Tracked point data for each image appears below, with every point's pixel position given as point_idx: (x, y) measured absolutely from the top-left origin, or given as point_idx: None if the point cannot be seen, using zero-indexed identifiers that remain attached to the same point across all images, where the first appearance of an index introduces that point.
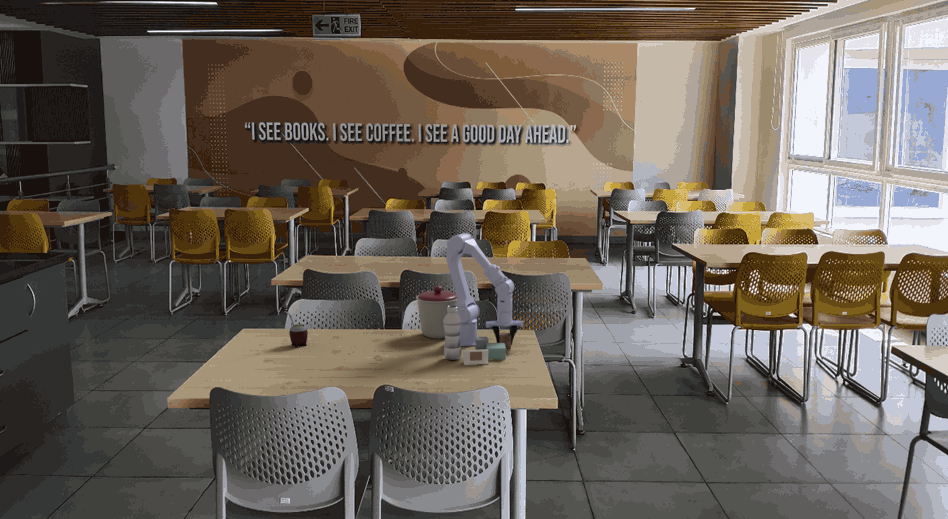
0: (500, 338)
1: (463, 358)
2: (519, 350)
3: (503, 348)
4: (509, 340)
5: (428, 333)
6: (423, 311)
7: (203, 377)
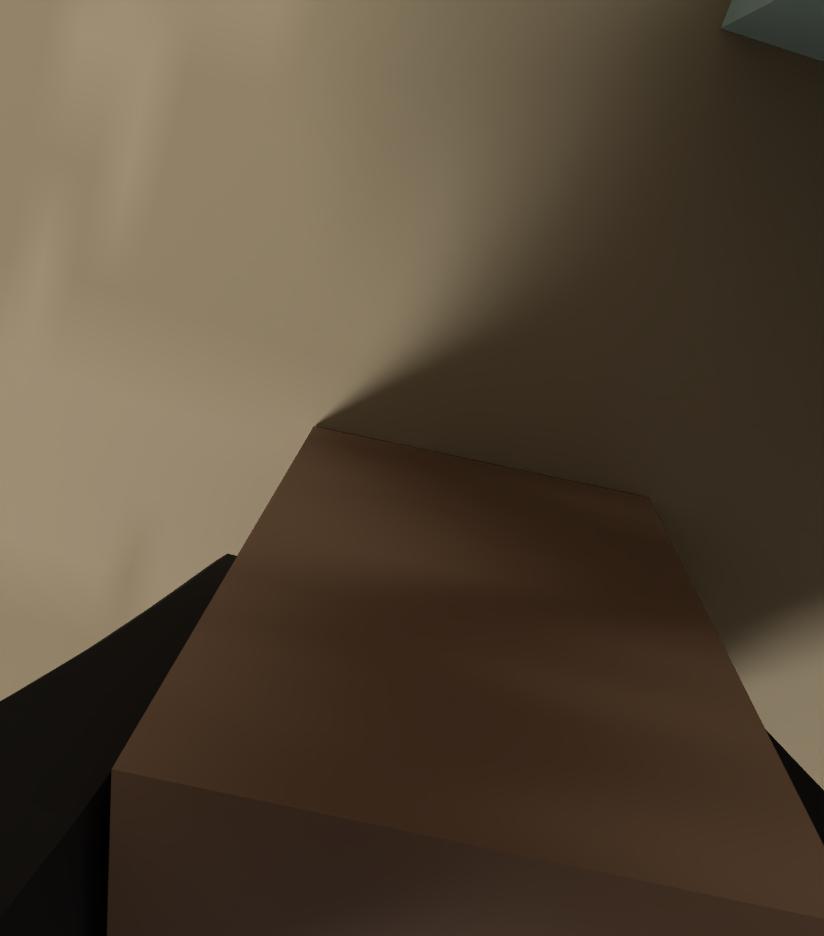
0: (760, 774)
1: None
2: (74, 258)
3: None
4: (291, 596)
5: None
6: None
7: None
